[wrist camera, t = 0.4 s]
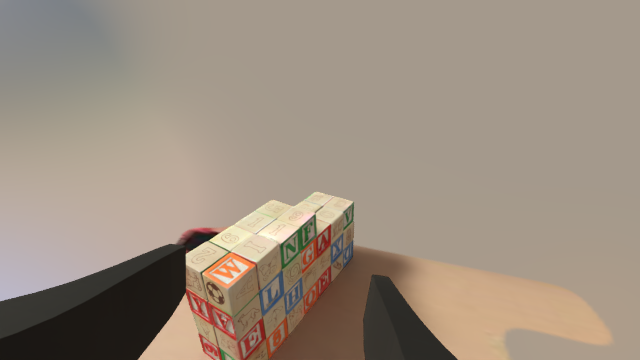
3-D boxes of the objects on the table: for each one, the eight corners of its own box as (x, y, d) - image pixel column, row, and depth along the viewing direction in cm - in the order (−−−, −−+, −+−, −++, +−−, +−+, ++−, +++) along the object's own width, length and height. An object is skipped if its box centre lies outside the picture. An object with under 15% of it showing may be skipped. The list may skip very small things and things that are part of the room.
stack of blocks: (317, 243, 47) (316, 170, 41) (353, 257, 44) (356, 181, 38) (202, 353, 30) (175, 257, 25) (246, 388, 27) (226, 287, 22)
